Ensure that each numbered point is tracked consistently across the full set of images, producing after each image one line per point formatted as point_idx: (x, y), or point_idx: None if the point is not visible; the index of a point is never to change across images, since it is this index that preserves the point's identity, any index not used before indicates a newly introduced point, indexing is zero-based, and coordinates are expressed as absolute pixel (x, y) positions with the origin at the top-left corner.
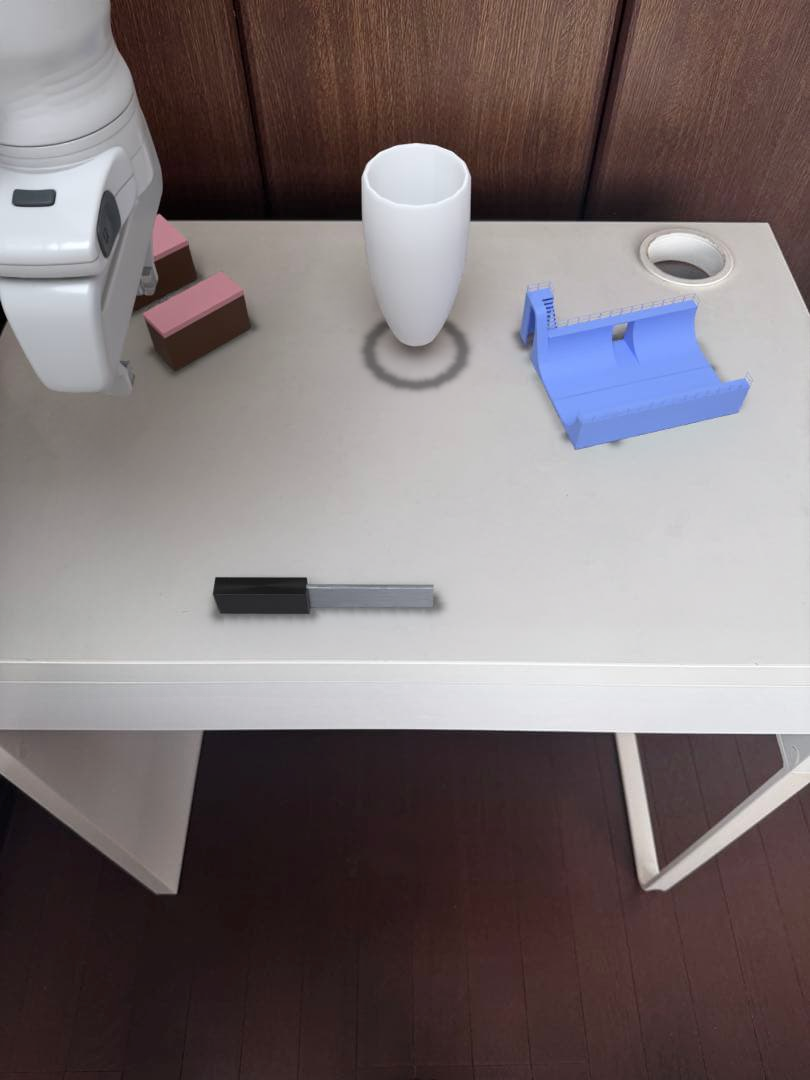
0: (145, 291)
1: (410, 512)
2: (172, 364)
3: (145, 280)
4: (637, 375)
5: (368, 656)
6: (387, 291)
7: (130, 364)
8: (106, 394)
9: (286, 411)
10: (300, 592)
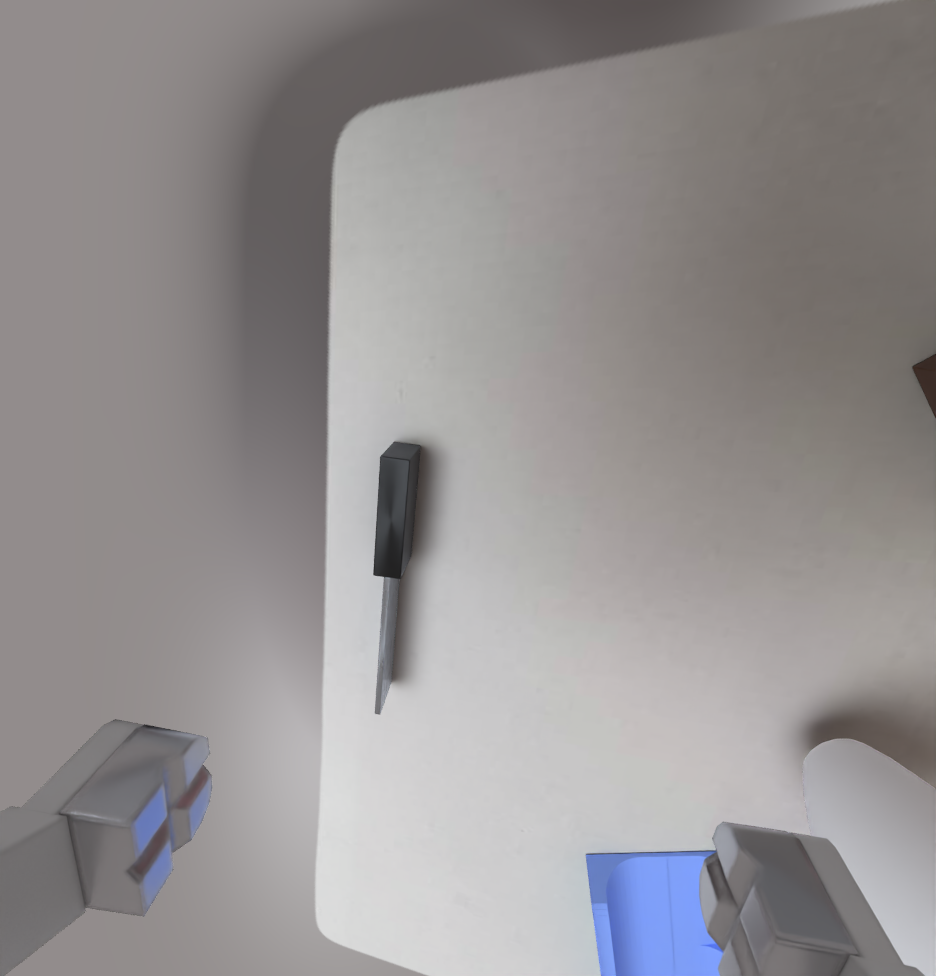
0: (712, 882)
1: (524, 680)
2: (926, 367)
3: (732, 968)
4: (682, 938)
5: (327, 608)
6: (876, 851)
7: (160, 889)
8: (115, 719)
9: (747, 548)
10: (376, 570)
